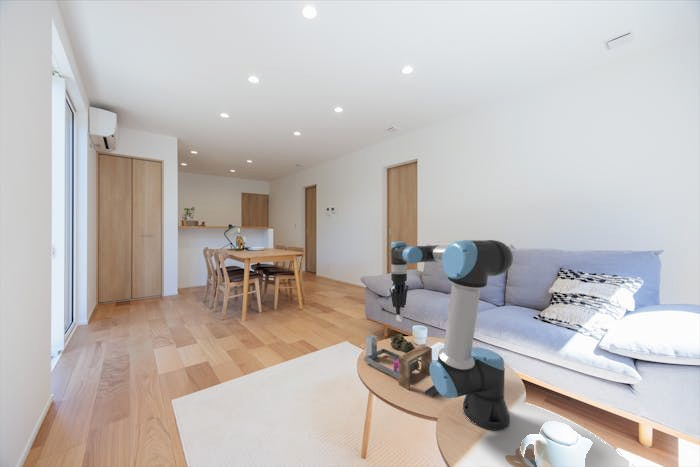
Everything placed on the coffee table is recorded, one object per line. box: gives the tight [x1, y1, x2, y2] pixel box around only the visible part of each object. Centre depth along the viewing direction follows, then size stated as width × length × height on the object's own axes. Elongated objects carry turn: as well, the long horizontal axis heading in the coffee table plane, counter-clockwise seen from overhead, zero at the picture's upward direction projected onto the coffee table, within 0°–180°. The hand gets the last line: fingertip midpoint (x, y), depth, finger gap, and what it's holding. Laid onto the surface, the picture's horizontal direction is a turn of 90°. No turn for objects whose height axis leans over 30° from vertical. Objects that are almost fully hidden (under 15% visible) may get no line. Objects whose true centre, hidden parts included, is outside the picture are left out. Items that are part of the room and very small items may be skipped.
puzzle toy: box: [393, 359, 412, 375], centre depth 126 cm, size 6×6×6 cm
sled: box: [363, 334, 420, 380], centre depth 133 cm, size 26×15×11 cm, turn 42°
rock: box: [390, 333, 415, 353], centre depth 153 cm, size 13×10×10 cm
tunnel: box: [398, 344, 433, 391], centre depth 121 cm, size 5×18×12 cm, turn 132°
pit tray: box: [424, 384, 440, 398], centre depth 114 cm, size 4×12×1 cm, turn 132°
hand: (399, 320), depth 132 cm, fingers closed
